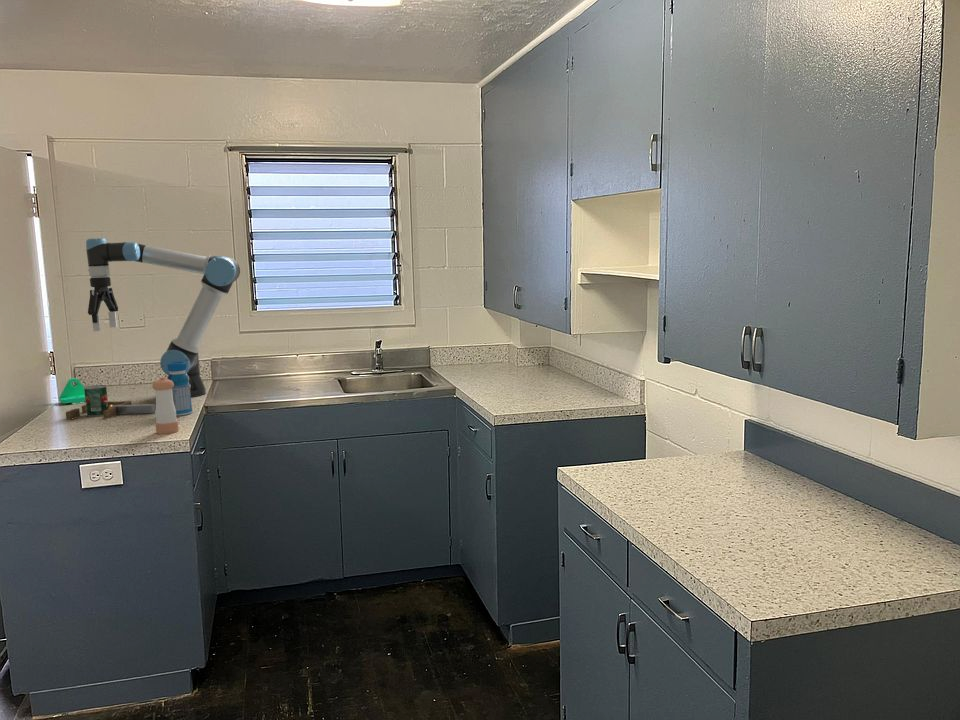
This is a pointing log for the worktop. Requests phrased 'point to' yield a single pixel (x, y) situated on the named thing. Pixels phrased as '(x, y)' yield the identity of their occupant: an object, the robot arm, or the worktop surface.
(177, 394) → the beverage bottle
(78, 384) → the camera mount
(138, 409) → the bar
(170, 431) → the pepper shaker
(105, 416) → the frame
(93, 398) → the canned tomato
